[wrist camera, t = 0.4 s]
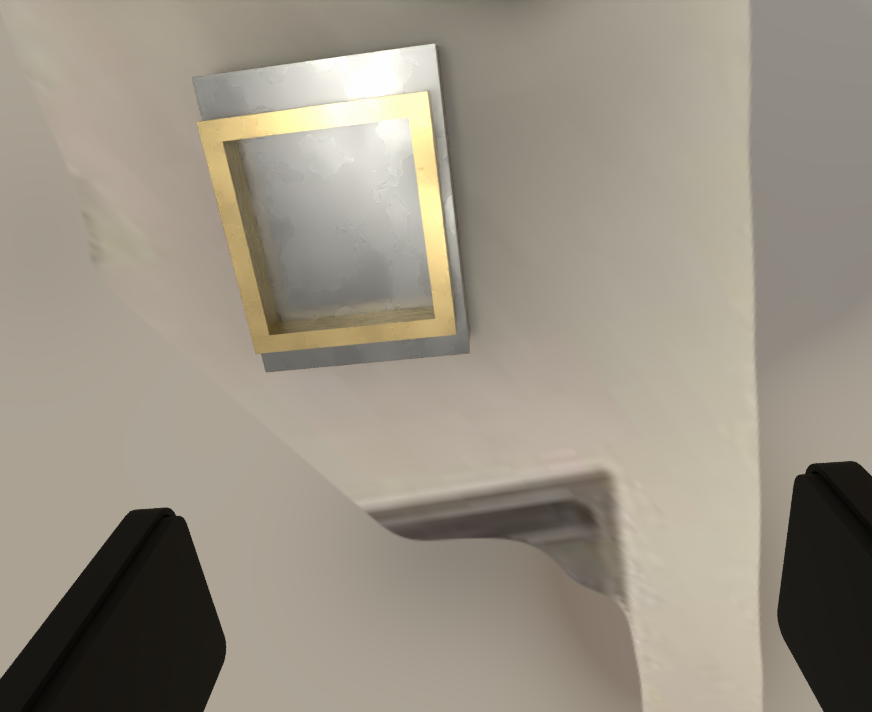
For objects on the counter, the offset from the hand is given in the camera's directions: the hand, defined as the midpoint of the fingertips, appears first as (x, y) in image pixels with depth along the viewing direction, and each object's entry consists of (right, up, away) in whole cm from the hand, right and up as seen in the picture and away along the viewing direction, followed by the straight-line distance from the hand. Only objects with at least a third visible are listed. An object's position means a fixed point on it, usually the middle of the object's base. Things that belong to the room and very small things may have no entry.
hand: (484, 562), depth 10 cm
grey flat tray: (-6, +11, +27) cm, 30 cm away
